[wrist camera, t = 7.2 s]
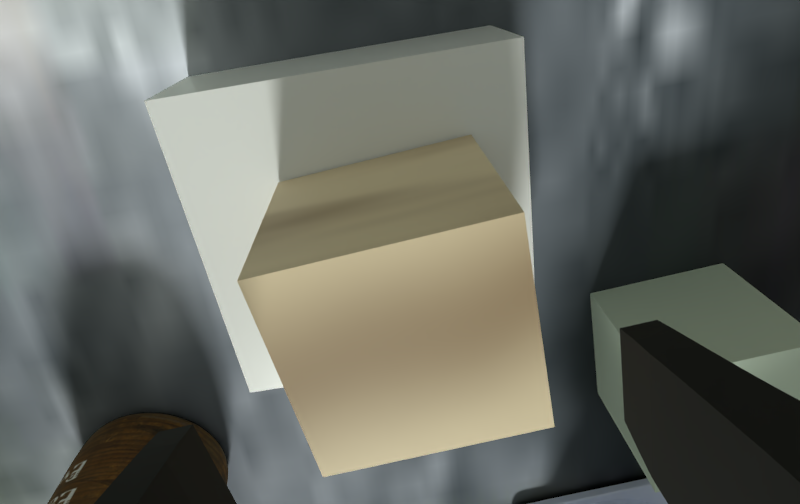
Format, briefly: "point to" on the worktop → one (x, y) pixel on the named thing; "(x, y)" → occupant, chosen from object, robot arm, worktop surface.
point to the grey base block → (329, 139)
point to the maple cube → (400, 306)
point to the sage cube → (696, 330)
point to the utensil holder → (121, 455)
